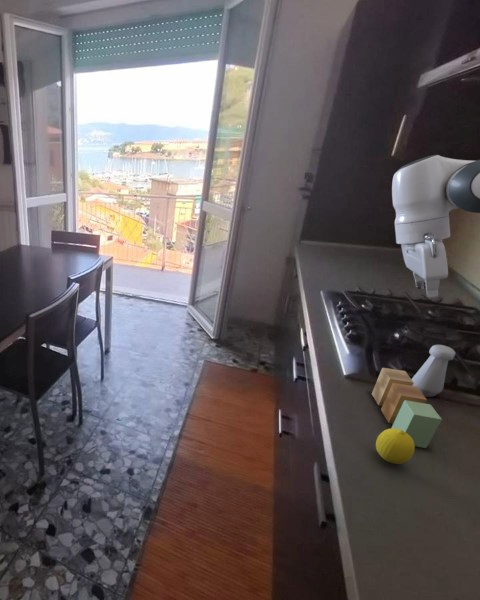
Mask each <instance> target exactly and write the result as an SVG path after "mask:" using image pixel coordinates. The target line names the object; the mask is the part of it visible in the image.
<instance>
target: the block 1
mask: <svg viewBox="0 0 480 600" xmlns="http://www.w3.org/2000/svg"><path fill="white" fill-rule="evenodd" d="M393 383H397V384H403V385H409V386H412V385H413V383H414V382H413V381H412V377H411V376H410V375H409V374H408V373H407V371H406V370H402V369H401V370H400V369H395V368H394V369H393V368H388V367H381V370H380V373H379V375H378V378H377V379H376V382H375V385H374V386H373V389H372V391H371V392H372V393H371V395H372V397H373V398H374V400H375V402H376V404H377V405H378V406H380V407H382V406H383V404H384V402H385V399H386V397H387V395H388V393H389V390H390V388H391V386H392V384H393Z"/></svg>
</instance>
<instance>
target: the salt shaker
mask: <svg viewBox="0 0 480 600" xmlns="http://www.w3.org/2000/svg"><path fill="white" fill-rule="evenodd" d="M428 353H429V357H428V358H427V359H426V361H424V363H423V364H422V365H421V367H420V368H419V369H418V370H417V372H416V373H415V374H414V375H413V377H411V379H412V381H413V382H414V383H413V385H412V386H416V387H418V389H419V390H420V391H421V393H422V394H423V395H424V396H425V398H426V397H427V398H428V397H435V396H438V395H439V394H440V393H441V392H443V390H444V387H445V386H444V385H445V379H446V375H447V369H448V364H449V361H453V359H454V358H455V356H456V351H455V350H454V349H453V348H451V347H450V346H447V345H443V344H434V345H432V346H431V347H430V348H429V351H428Z"/></svg>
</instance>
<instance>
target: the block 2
mask: <svg viewBox="0 0 480 600" xmlns="http://www.w3.org/2000/svg"><path fill="white" fill-rule="evenodd" d="M404 400H407V401H413V402H418V403H424V404H427V400H428V399H427V398H426V396H424V395H423V394H422V393H421V391H420V390H419V389H418V387H416V386H409V385H403V384H397V383H393V384H392V386H391V388H390V390H389V393H388V395H387V397H386V399H385V402H384V404H383V406H381V408H380V411H381V412H382V415H383V416H384V417H385V419H386V421H387V423H388V424H391V425H393V424H394V421H395V419H396V417H397V415H398V413H399V411H400V409H401V407H402V404H403V402H404Z"/></svg>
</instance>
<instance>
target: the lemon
mask: <svg viewBox="0 0 480 600" xmlns="http://www.w3.org/2000/svg"><path fill="white" fill-rule="evenodd" d="M375 449H376V452H377V453H378V455H379V456H380V457H381V458H382V459H383V460H384V461H386V462H388V463H390V464H394V465H395V464H398V465H401V464H405V463H407V462H409V461H410V460H411V459H412V458H413V456H414V454H415V451H416V446H415V444H414V441H413V439H412V438H411V437H410V435H408V434H407V433H406V432H404V431H402V430H399V429H394V428H393V429H392V428H387V429H384V430H383V431H381V432H380V434H379V435H378V436H377V437H376V441H375Z"/></svg>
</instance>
